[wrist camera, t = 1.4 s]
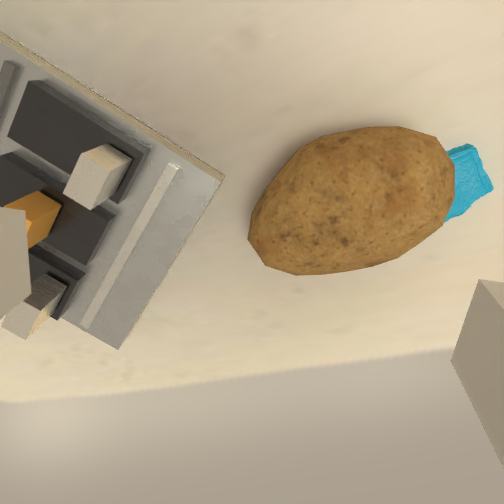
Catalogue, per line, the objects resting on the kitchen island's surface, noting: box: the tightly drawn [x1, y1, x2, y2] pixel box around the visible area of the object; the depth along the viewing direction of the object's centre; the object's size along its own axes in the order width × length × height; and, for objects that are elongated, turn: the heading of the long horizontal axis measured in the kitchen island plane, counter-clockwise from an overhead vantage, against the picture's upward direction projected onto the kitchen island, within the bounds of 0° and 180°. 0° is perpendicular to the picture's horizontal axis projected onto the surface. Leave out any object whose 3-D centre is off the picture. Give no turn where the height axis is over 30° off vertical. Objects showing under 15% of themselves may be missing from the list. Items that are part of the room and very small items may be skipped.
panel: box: [0, 32, 225, 350], centre depth 34 cm, size 20×18×8 cm
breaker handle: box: [4, 191, 62, 249], centre depth 32 cm, size 2×3×4 cm, turn 148°
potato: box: [248, 127, 455, 275], centre depth 31 cm, size 10×14×8 cm
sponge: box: [444, 144, 493, 222], centre depth 35 cm, size 2×12×6 cm
